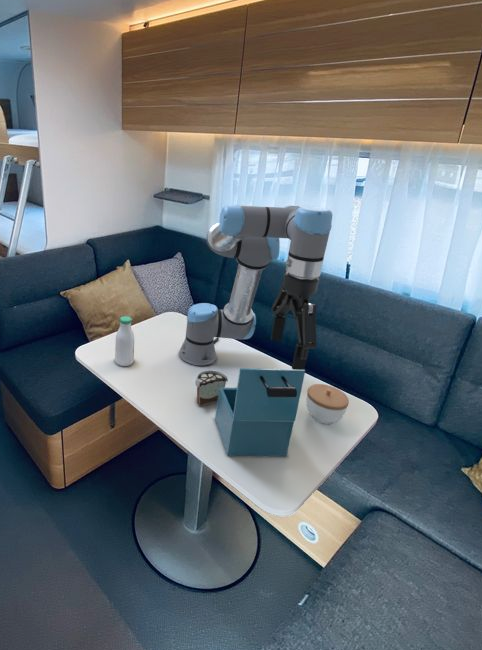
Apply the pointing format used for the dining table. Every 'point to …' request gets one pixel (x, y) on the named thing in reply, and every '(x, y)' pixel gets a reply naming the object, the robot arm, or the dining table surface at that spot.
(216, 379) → the food container
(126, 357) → the milk bottle
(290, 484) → the dining table surface
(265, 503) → the dining table surface
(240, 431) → the box
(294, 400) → the freezer lid
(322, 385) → the lidded bowl
